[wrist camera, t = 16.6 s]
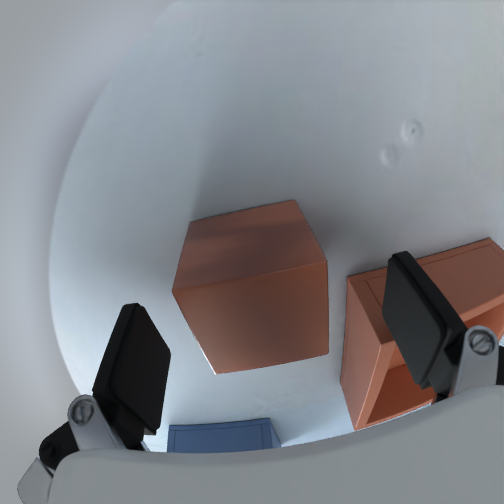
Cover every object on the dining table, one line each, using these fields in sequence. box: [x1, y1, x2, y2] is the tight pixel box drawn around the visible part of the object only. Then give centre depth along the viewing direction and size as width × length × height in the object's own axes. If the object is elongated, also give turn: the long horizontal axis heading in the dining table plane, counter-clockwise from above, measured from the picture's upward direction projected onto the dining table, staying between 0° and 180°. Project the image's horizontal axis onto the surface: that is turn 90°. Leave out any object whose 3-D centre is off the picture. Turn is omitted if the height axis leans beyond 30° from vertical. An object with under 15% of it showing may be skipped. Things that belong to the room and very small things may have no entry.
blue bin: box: [167, 418, 281, 453], centre depth 23 cm, size 10×10×5 cm
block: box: [172, 200, 329, 374], centre depth 11 cm, size 4×4×4 cm
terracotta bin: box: [340, 238, 504, 431], centre depth 14 cm, size 11×11×5 cm
